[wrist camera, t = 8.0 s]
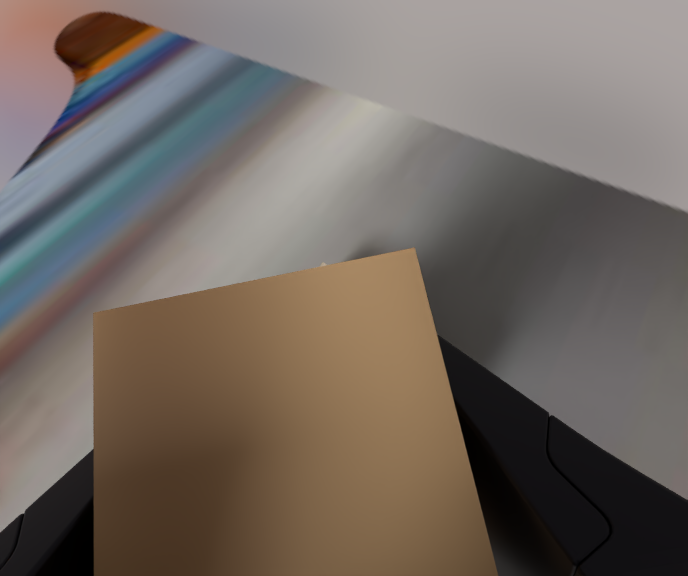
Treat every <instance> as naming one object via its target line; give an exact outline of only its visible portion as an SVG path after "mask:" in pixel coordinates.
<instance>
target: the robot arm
mask: <svg viewBox="0 0 688 576" xmlns="http://www.w3.org/2000/svg"><path fill="white" fill-rule="evenodd" d="M437 337H438V341H439V345H440V349H441V353H442V357H443V360H444V364H445V368H446V372H447V376H448V380H449V384H450V388H451V392H452V396H453V400H454V404H455V408H456V411H457V415H458V419H459V423H460V427H461V431H462V435H463V439H464V443H465V447H466V451H467V455H468V459H469V462H470V466H471V470H472V474H473V478H474V482H475V486H476V490H477V494H478V498H479V502H480V506H481V510H482V513H483V517H484V521H485V525H486V529H487V533H488V537H489V541H490V545H491V549H492V553H493V557H494V561H495V564H496V568H497V572H498V576H688V500H686V499H685V498H683V497H681V496H680V495H678V494H676V493H675V492H673V491H671V490H669V489H668V488H666V487H664V486H663V485H661V484H659V483H658V482H656V481H654V480H652V479H651V478H649V477H647V476H646V475H644V474H642V473H641V472H639V471H637V470H636V469H634V468H632V467H631V466H629V465H628V464H626V463H624V462H623V461H621V460H619V459H618V458H616V457H615V456H613V455H611V454H610V453H608V452H606V451H605V450H603V449H602V448H600V447H599V446H597V445H596V444H594V443H593V442H591V441H590V440H588V439H587V438H585V437H584V436H582V435H581V434H579V433H578V432H576V431H575V430H573V429H572V428H570V427H569V426H567V425H566V424H564V423H563V422H562V421H560V420H559V419H557V418H556V417H554V416H553V415H551V416H550V417H549V413H548V412H547V411H546V410H544V409H543V408H541V407H540V406H539V405H537V404H536V403H534V402H533V401H531V400H530V399H529V398H527V397H526V396H524V395H523V394H521V393H520V392H519V391H517V390H516V389H514V388H513V387H511V386H510V385H509V384H507V383H506V382H504V381H503V380H501V379H500V378H499V377H497V376H496V375H494V374H493V373H491V372H490V371H489V370H487V369H486V368H484V367H483V366H481V365H480V364H479V363H477V362H476V361H474V360H473V359H472V358H470V357H469V356H467V355H466V354H464V353H463V352H462V351H460V350H459V349H457V348H456V347H454V346H453V345H452V344H450V343H449V342H447V341H446V340H444V339H443V338H442V337H440V336H439V335H437ZM0 576H94V449H93V450H92V451H91V452H89V453H88V454H87V455H86V456H85V457H84V458H83V459H82V460H81V461H79V462H78V463H77V464H76V465H75V466H74V467H73V468H72V469H71V470H69V471H68V472H67V473H66V474H65V475H64V476H63V477H62V478H61V479H59V480H58V481H57V482H56V483H55V484H54V485H53V486H52V487H51V488H49V489H48V490H47V491H46V492H45V493H44V494H43V495H42V496H41V497H39V498H38V499H37V500H36V501H35V502H34V503H33V504H32V505H31V506H29V507H28V508H27V509H26V510H25V513H24V514H21V515H19V516H18V517H17V518H16V519H15V520H14V521H13V522H11V523H10V524H9V525H8V526H7V527H6V528H5V529H4V530H3V531H2V532H0Z"/></svg>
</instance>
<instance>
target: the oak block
mask: <svg viewBox="0 0 688 576" xmlns="http://www.w3.org/2000/svg"><path fill="white" fill-rule="evenodd" d="M93 380H94V576H498V572H497V568H496V564H495V561H494V557H493V553H492V549H491V545H490V541H489V537H488V533H487V529H486V525H485V521H484V517H483V513H482V510H481V506H480V502H479V498H478V494H477V490H476V486H475V482H474V478H473V474H472V470H471V466H470V462H469V459H468V455H467V451H466V447H465V443H464V439H463V435H462V431H461V427H460V423H459V419H458V415H457V411H456V408H455V404H454V400H453V396H452V392H451V388H450V384H449V380H448V376H447V372H446V368H445V364H444V360H443V357H442V353H441V349H440V345H439V341H438V337H437V333H436V329H435V325H434V321H433V317H432V313H431V309H430V306H429V302H428V298H427V294H426V290H425V286H424V282H423V278H422V274H421V270H420V266H419V262H418V258H417V255H416V251H415V248H410V249H405V250H400V251H395V252H390V253H385V254H380V255H376V256H371V257H366V258H361V259H356V260H351V261H346V262H341V263H336V264H331V265H326V266H321V267H317V268H312V269H307V270H302V271H297V272H292V273H287V274H282V275H277V276H272V277H267V278H262V279H258V280H253V281H248V282H243V283H238V284H233V285H228V286H223V287H218V288H213V289H208V290H204V291H199V292H194V293H189V294H184V295H179V296H174V297H169V298H164V299H159V300H154V301H149V302H145V303H140V304H135V305H130V306H125V307H120V308H115V309H110V310H105V311H100V312H95V313H93Z"/></svg>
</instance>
